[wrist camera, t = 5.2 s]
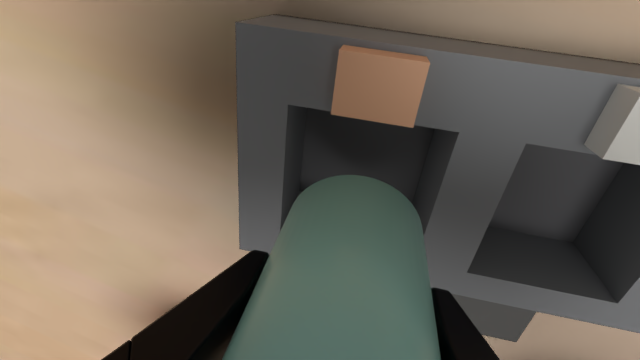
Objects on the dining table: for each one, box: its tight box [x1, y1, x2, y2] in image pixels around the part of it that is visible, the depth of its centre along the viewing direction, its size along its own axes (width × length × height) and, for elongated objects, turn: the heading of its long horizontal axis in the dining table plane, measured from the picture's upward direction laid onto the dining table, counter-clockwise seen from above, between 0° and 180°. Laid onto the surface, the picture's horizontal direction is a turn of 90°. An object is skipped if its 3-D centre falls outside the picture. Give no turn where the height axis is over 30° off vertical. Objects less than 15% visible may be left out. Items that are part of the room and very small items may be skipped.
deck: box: [452, 294, 536, 342], centre depth 18 cm, size 6×7×1 cm
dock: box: [235, 14, 640, 333], centre depth 13 cm, size 9×17×5 cm, turn 84°
